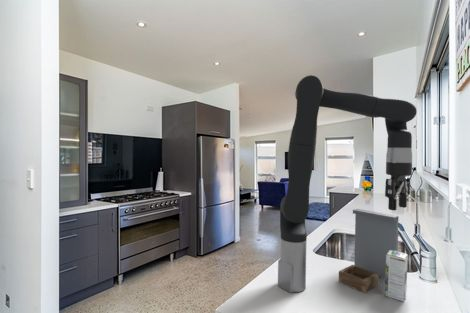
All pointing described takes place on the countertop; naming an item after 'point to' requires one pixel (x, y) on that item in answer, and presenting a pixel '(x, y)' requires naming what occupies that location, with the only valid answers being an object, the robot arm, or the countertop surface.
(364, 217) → the upright grey panel
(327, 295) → the countertop surface
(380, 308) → the countertop surface
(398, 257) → the syrup box
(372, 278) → the socket
